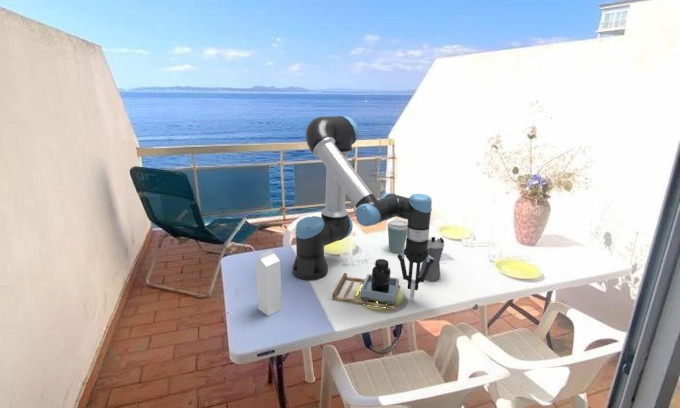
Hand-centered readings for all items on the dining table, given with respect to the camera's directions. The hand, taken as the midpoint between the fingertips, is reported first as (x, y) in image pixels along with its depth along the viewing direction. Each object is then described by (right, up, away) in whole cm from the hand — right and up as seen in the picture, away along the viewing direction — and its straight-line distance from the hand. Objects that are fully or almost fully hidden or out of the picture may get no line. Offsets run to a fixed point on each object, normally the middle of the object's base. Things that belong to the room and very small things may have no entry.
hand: (411, 296), depth 128 cm
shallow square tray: (-12, 0, +3) cm, 12 cm away
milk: (-52, -3, -6) cm, 52 cm away
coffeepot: (+12, +4, +19) cm, 22 cm away
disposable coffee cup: (+1, +11, +42) cm, 44 cm away
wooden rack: (-16, 0, +5) cm, 16 cm away
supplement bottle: (-12, +1, +3) cm, 12 cm away
